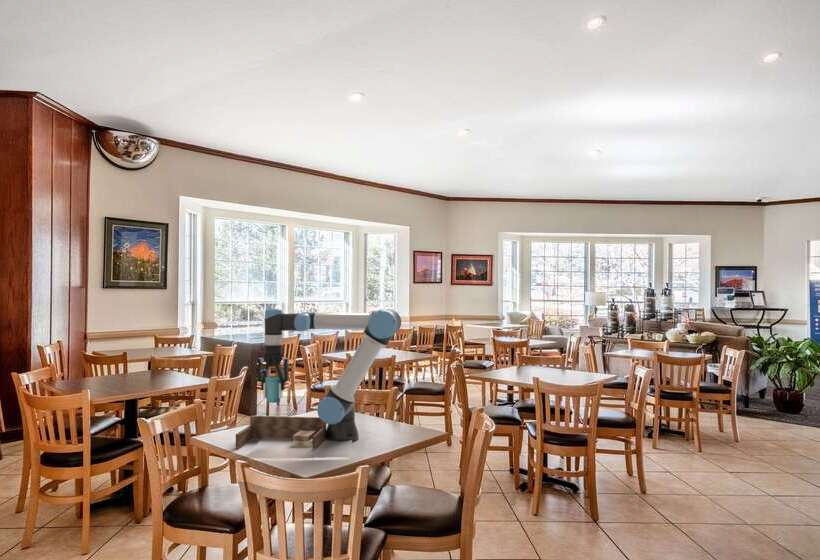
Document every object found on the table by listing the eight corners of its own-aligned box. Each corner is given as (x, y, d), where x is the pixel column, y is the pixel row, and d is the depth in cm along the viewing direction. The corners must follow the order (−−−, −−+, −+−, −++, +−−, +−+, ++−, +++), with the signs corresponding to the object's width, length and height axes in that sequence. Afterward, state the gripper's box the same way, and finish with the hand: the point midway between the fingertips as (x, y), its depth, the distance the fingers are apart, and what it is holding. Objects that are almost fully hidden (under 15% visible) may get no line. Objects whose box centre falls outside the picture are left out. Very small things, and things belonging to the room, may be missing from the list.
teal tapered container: (266, 405, 227) (266, 369, 227) (253, 403, 231) (253, 368, 231) (290, 400, 239) (290, 366, 239) (277, 398, 243) (277, 364, 243)
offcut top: (316, 435, 238) (316, 430, 238) (308, 441, 228) (308, 436, 228) (301, 434, 239) (301, 429, 239) (292, 440, 229) (292, 435, 229)
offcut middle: (315, 439, 239) (315, 434, 239) (311, 446, 228) (311, 441, 228) (297, 439, 239) (297, 434, 239) (292, 446, 228) (292, 441, 228)
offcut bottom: (318, 443, 239) (318, 438, 240) (311, 451, 227) (311, 447, 227) (298, 442, 240) (298, 438, 240) (289, 451, 227) (289, 446, 227)
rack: (326, 439, 242) (326, 417, 242) (316, 451, 225) (316, 426, 225) (251, 437, 245) (251, 415, 245) (235, 448, 228) (235, 424, 228)
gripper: (297, 343, 239) (297, 396, 238) (255, 343, 240) (254, 395, 240) (292, 345, 231) (291, 399, 230) (248, 345, 233) (248, 399, 232)
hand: (272, 397), depth 235 cm, fingers closed on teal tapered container, 6 cm apart
